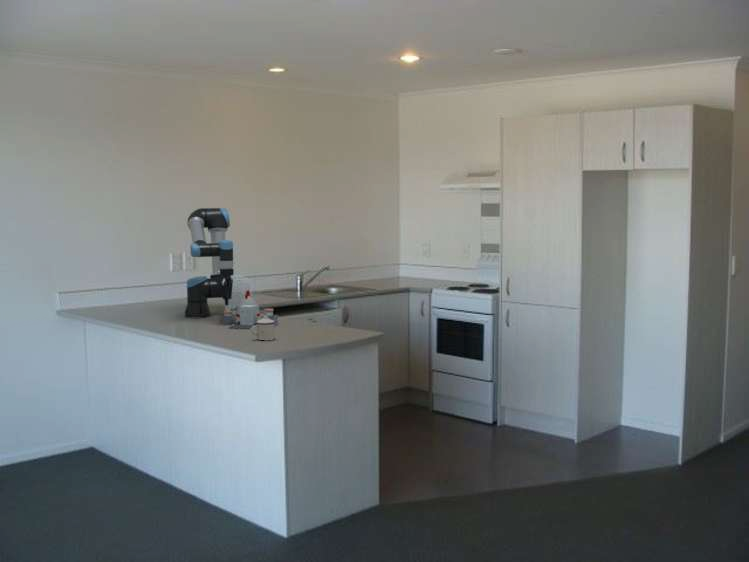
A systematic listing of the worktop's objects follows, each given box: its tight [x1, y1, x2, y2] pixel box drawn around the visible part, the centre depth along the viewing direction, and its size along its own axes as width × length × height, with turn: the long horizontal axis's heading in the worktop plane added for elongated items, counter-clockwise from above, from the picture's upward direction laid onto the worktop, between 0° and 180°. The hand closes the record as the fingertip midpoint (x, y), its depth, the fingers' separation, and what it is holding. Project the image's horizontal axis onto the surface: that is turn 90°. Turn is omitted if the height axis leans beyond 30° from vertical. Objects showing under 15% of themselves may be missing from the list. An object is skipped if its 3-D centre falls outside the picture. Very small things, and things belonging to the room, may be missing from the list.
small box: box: [239, 305, 258, 325], centre depth 449 cm, size 8×6×10 cm
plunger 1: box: [222, 310, 233, 316], centre depth 451 cm, size 5×5×6 cm
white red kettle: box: [235, 290, 261, 318], centre depth 482 cm, size 14×14×15 cm
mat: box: [228, 324, 255, 330], centre depth 439 cm, size 9×12×1 cm
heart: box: [222, 274, 251, 310], centre depth 510 cm, size 28×16×22 cm, turn 38°
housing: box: [218, 313, 279, 326], centre depth 449 cm, size 12×31×5 cm, turn 80°
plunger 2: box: [264, 308, 274, 317], centre depth 447 cm, size 5×5×6 cm
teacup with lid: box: [250, 315, 276, 341], centre depth 401 cm, size 12×9×12 cm
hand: (227, 310), depth 451 cm, fingers closed
